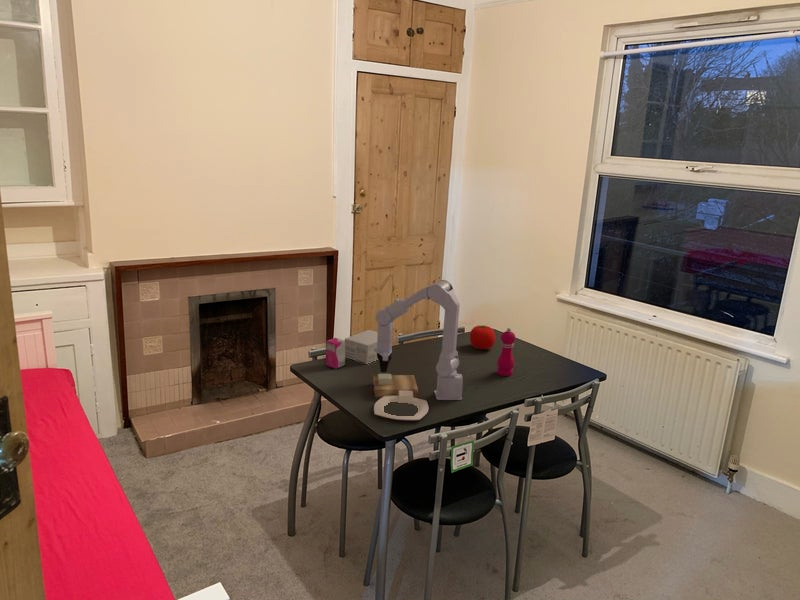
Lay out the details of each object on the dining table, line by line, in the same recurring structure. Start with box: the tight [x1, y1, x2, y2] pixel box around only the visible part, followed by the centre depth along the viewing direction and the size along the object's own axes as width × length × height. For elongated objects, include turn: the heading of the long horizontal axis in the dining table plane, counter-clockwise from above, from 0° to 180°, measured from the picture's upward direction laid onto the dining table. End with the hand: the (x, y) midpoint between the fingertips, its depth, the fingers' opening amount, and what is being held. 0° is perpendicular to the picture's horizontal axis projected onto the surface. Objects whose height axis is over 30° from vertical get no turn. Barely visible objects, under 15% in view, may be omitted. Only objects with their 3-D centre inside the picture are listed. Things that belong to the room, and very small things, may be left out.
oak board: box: [372, 374, 419, 399], centre depth 229 cm, size 16×14×4 cm
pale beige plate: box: [373, 396, 430, 421], centre depth 212 cm, size 19×19×2 cm
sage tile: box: [377, 373, 392, 385], centre depth 228 cm, size 5×5×2 cm
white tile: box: [399, 390, 413, 403], centre depth 218 cm, size 5×5×2 cm
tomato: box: [469, 325, 496, 350], centre depth 279 cm, size 12×13×11 cm
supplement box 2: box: [344, 329, 379, 365], centre depth 263 cm, size 17×13×9 cm
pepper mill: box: [496, 327, 517, 377], centre depth 249 cm, size 7×7×20 cm
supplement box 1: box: [325, 337, 346, 370], centre depth 250 cm, size 6×6×12 cm
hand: (383, 371), depth 235 cm, fingers closed
